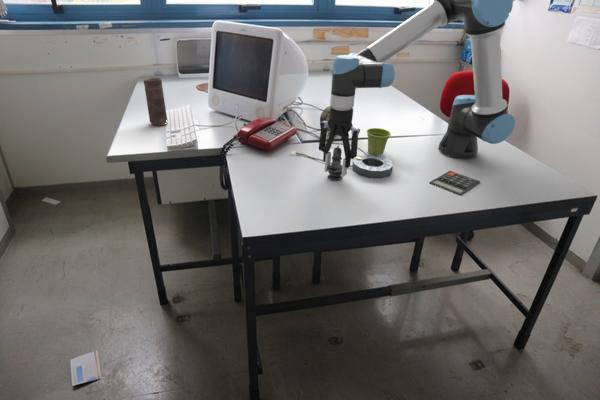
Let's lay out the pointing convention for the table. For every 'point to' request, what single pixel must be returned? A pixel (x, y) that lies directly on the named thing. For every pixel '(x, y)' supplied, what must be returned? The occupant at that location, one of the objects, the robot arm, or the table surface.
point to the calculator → (455, 182)
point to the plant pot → (377, 140)
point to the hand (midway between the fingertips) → (335, 172)
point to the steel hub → (377, 172)
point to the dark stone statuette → (335, 166)
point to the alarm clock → (325, 116)
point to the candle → (155, 101)
